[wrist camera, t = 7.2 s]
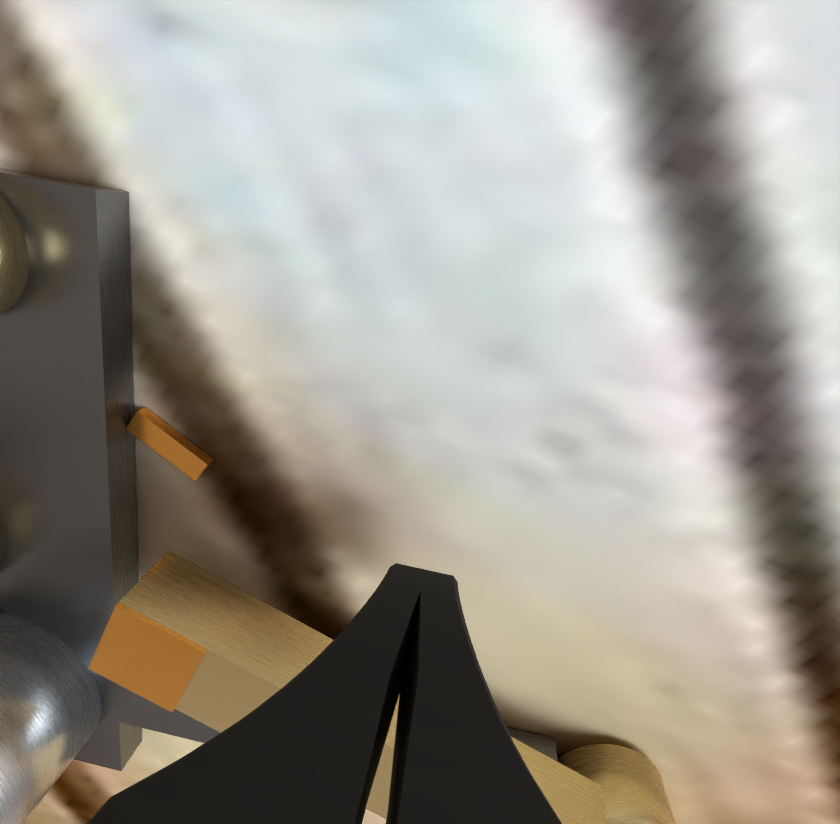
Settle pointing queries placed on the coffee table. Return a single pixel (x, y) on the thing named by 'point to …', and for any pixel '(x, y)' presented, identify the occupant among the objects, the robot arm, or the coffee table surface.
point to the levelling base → (73, 486)
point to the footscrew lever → (285, 658)
